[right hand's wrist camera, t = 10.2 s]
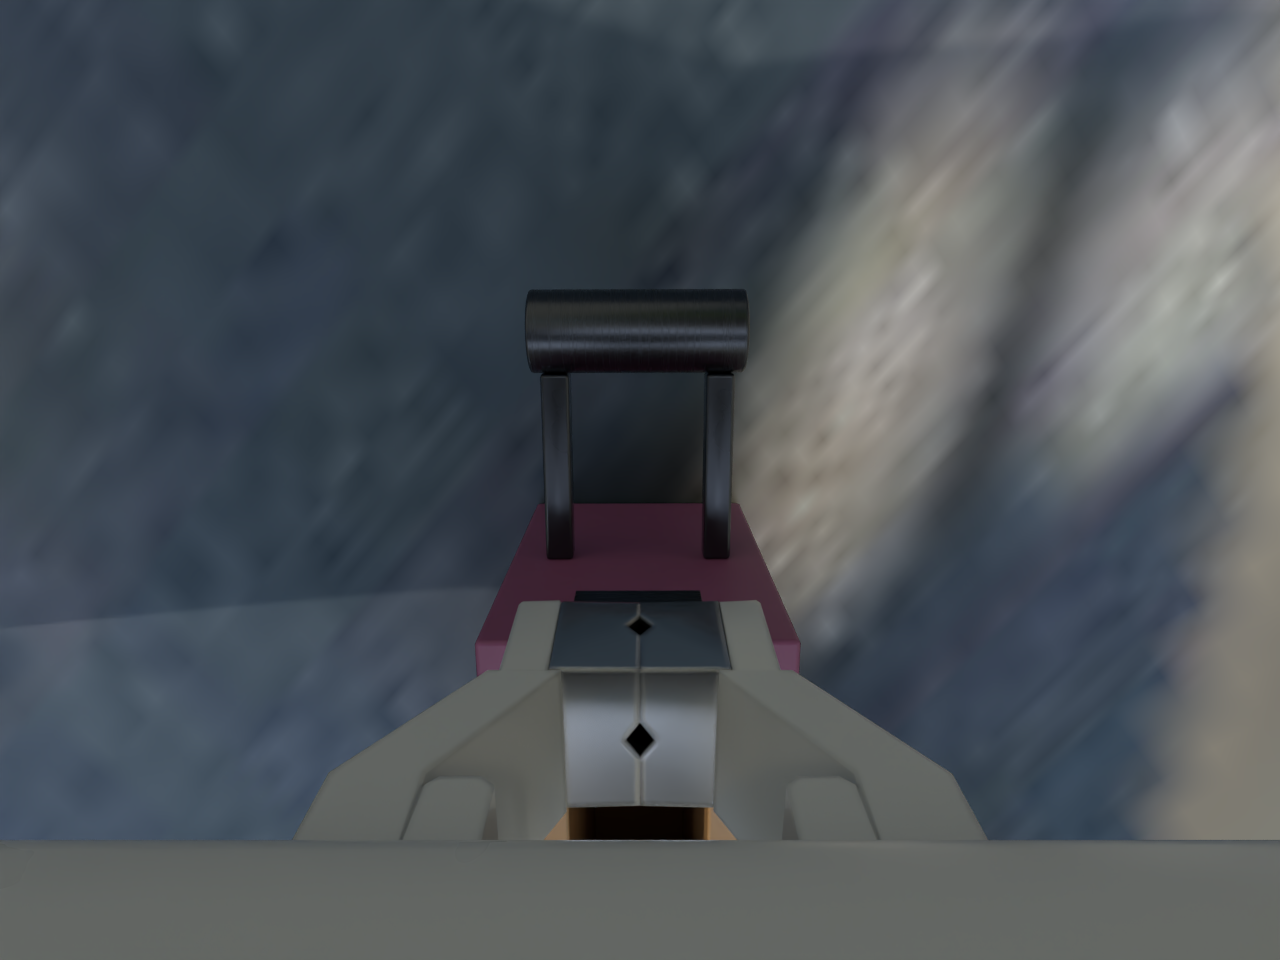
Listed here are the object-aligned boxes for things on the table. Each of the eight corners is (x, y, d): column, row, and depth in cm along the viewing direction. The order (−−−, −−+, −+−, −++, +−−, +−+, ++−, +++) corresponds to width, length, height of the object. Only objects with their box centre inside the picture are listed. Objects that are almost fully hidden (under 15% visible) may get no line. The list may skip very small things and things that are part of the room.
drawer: (529, 287, 20) (451, 293, 12) (746, 287, 20) (820, 292, 12) (553, 952, 26) (512, 1277, 17) (726, 952, 26) (767, 1276, 17)
